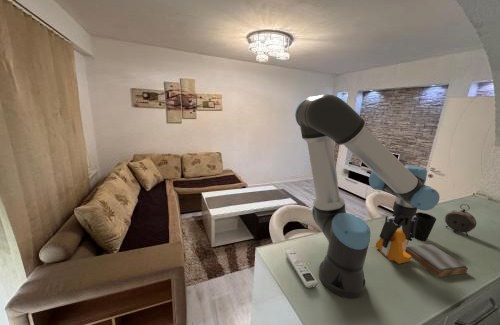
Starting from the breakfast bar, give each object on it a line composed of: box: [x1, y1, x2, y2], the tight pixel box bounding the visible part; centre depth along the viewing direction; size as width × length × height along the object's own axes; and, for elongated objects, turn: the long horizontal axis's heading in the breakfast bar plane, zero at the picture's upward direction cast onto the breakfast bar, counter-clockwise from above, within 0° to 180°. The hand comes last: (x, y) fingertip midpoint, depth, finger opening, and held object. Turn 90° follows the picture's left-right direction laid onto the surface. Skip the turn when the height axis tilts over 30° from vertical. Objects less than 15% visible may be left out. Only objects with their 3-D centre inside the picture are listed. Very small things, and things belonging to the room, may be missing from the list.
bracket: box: [374, 228, 412, 265], centre depth 86 cm, size 11×7×12 cm, turn 18°
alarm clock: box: [444, 203, 477, 237], centre depth 105 cm, size 11×5×16 cm, turn 29°
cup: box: [413, 211, 437, 242], centre depth 99 cm, size 8×8×12 cm
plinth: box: [405, 244, 469, 278], centre depth 84 cm, size 14×14×3 cm
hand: (392, 252), depth 87 cm, fingers closed on bracket, 8 cm apart
